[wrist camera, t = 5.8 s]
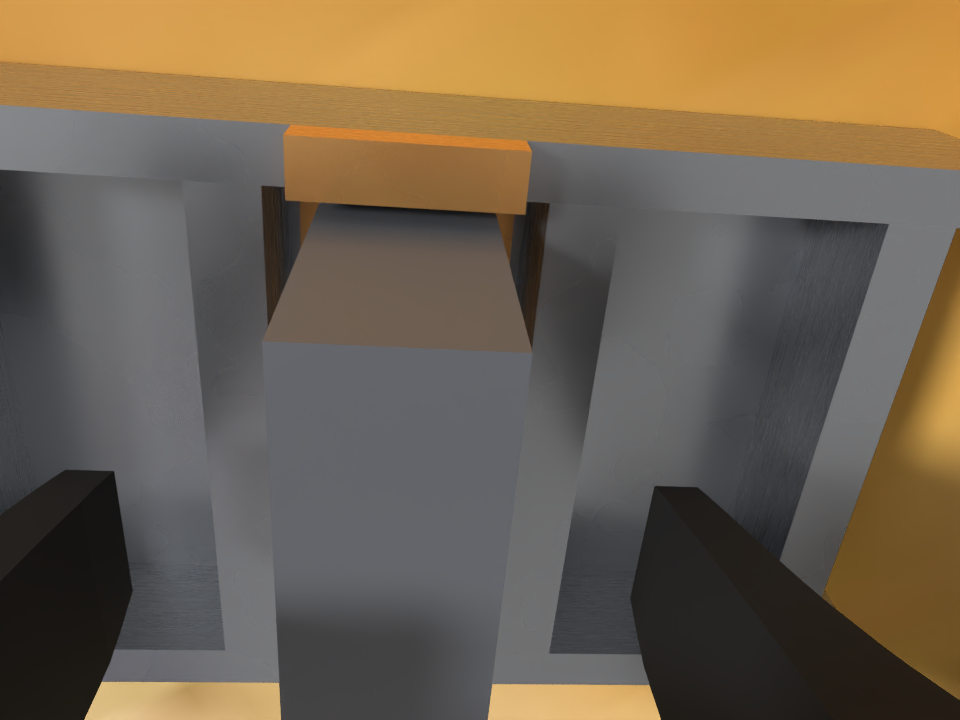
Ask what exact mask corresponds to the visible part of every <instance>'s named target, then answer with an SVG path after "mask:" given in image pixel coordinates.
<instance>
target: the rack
mask: <svg viewBox="0 0 960 720" xmlns="http://www.w3.org/2000/svg"><path fill="white" fill-rule="evenodd" d="M319 203H336V204H353V205H370V206H386V207H403V208H420V209H437V210H453V211H470V212H487V213H496V216H497V219H498V223H499V227H500V231H501V235H502V239H503V242H504V246H505V250H506V254H507V258H508V261H509V265H510V269H511V273H512V277H513V280H514V284H515V288H516V292H517V296H518V300H519V303H520V307H521V311H522V315H523V319H524V322H525V326H526V330H527V334H528V338H529V342H530V345H531V349H532V353H533V354H532V362H531V370H530V378H529V386H528V395H527V403H526V411H525V419H524V427H523V435H522V443H521V452H520V460H519V468H518V476H517V484H516V492H515V500H514V509H513V517H512V525H511V533H510V541H509V549H508V557H507V566H506V574H505V582H504V590H503V598H502V606H501V614H500V623H499V631H498V639H497V647H496V655H495V663H494V671H493V680H492V684H588V685H650V684H649V681H648V678H647V675H646V672H645V669H644V665H643V661H642V656H641V651H640V647H639V642H638V637H637V632H636V627H635V622H634V616H633V611H632V606H631V600H630V596H631V591H632V587H633V582H634V578H635V573H636V568H637V564H638V559H639V555H640V550H641V545H642V541H643V536H644V532H645V527H646V522H647V518H648V513H649V509H650V504H651V500H652V495H653V490H654V486H676V487H698V488H699V489H700V490H702V491H703V492H704V493H705V494H706V495H708V496H709V497H710V498H711V499H712V500H713V501H714V502H715V503H717V504H718V505H719V506H720V507H721V508H722V509H723V510H724V511H725V512H727V513H728V514H729V515H730V516H731V517H732V518H733V519H734V520H735V521H736V522H738V523H739V524H740V525H741V526H742V527H743V528H744V529H745V530H746V531H747V532H748V533H750V534H751V535H752V536H753V537H754V538H755V539H756V540H757V541H758V542H759V543H761V544H762V545H763V546H764V547H765V548H766V549H767V550H768V551H769V552H770V553H772V554H773V555H774V556H775V557H776V558H777V559H778V560H779V561H780V562H782V563H783V564H784V565H785V566H786V567H787V568H788V569H790V570H791V571H792V572H793V573H794V574H795V575H796V576H798V577H799V578H800V579H801V580H802V581H803V582H804V583H806V584H807V585H808V586H809V587H810V588H811V589H813V590H814V591H815V592H816V593H817V594H818V595H820V596H821V597H822V598H823V599H824V600H826V601H827V602H828V603H829V604H830V605H832V606H833V607H834V608H835V606H834V605H833V603H832V602H831V600H830V598H829V597H828V595H827V594H826V592H825V590H824V589H825V586H826V584H827V581H828V578H829V576H830V573H831V570H832V567H833V565H834V562H835V559H836V556H837V554H838V551H839V548H840V545H841V543H842V540H843V537H844V535H845V532H846V529H847V526H848V524H849V521H850V518H851V515H852V513H853V510H854V507H855V504H856V502H857V499H858V496H859V493H860V491H861V488H862V485H863V483H864V480H865V477H866V474H867V472H868V469H869V466H870V463H871V461H872V458H873V455H874V452H875V450H876V447H877V444H878V442H879V439H880V436H881V433H882V431H883V428H884V425H885V422H886V420H887V417H888V414H889V411H890V409H891V406H892V403H893V400H894V398H895V395H896V392H897V390H898V387H899V384H900V381H901V379H902V376H903V373H904V370H905V368H906V365H907V362H908V359H909V357H910V354H911V351H912V349H913V346H914V343H915V340H916V338H917V335H918V332H919V329H920V327H921V324H922V321H923V318H924V316H925V313H926V310H927V308H928V305H929V302H930V299H931V297H932V294H933V291H934V288H935V286H936V283H937V280H938V277H939V275H940V272H941V269H942V266H943V264H944V261H945V258H946V256H947V253H948V250H949V247H950V245H951V242H952V239H953V236H954V234H955V231H956V228H960V139H958V138H955V137H953V136H950V135H947V134H944V133H942V132H939V131H936V130H929V129H915V128H901V127H887V126H874V125H860V124H846V123H832V122H819V121H805V120H791V119H777V118H764V117H750V116H736V115H723V114H709V113H695V112H681V111H668V110H654V109H640V108H626V107H613V106H599V105H585V104H571V103H558V102H544V101H530V100H516V99H503V98H489V97H475V96H461V95H448V94H434V93H420V92H406V91H393V90H379V89H365V88H351V87H338V86H324V85H310V84H296V83H283V82H269V81H255V80H241V79H228V78H214V77H200V76H186V75H173V74H159V73H145V72H131V71H118V70H104V69H90V68H76V67H63V66H49V65H35V64H21V63H8V62H0V515H1V514H2V513H3V512H5V511H6V510H8V509H9V508H10V507H12V506H13V505H15V504H16V503H17V502H19V501H20V500H22V499H23V498H24V497H26V496H27V495H29V494H30V493H31V492H33V491H34V490H36V489H37V488H39V487H40V486H41V485H43V484H44V483H46V482H47V481H49V480H50V479H52V478H53V477H55V476H56V475H58V474H59V473H61V472H63V471H64V470H97V471H114V473H115V480H116V486H117V492H118V499H119V505H120V512H121V518H122V524H123V531H124V537H125V544H126V550H127V557H128V563H129V569H130V576H131V582H132V589H133V592H132V595H131V599H130V602H129V605H128V609H127V612H126V615H125V618H124V622H123V625H122V628H121V631H120V634H119V637H118V640H117V643H116V646H115V649H114V653H113V656H112V659H111V662H110V664H109V666H108V669H107V671H106V673H105V675H104V677H103V680H102V682H262V683H279V665H278V646H277V626H276V606H275V586H274V567H273V547H272V527H271V507H270V487H269V468H268V448H267V428H266V408H265V388H264V369H263V349H262V340H263V338H264V336H265V333H266V331H267V328H268V326H269V324H270V321H271V319H272V316H273V314H274V311H275V309H276V307H277V304H278V302H279V299H280V297H281V294H282V292H283V290H284V287H285V285H286V282H287V280H288V278H289V275H290V273H291V270H292V268H293V265H294V263H295V261H296V258H297V256H298V253H299V251H300V248H301V246H302V244H303V241H304V239H305V236H306V234H307V232H308V229H309V227H310V224H311V222H312V219H313V217H314V215H315V212H316V210H317V207H318V205H319ZM835 609H836V608H835Z"/></svg>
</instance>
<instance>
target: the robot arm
mask: <svg viewBox="0 0 960 720" xmlns="http://www.w3.org/2000/svg"><path fill="white" fill-rule="evenodd" d="M132 592H133V589H132V582H131V576H130V569H129V563H128V557H127V550H126V544H125V537H124V531H123V524H122V518H121V512H120V505H119V499H118V492H117V486H116V480H115V473H114V471H97V470H64V471H63V472H61V473H59V474H58V475H56V476H55V477H53V478H52V479H50V480H49V481H47V482H46V483H44V484H43V485H41V486H40V487H39V488H37V489H36V490H34V491H33V492H31V493H30V494H29V495H27V496H26V497H24V498H23V499H22V500H20V501H19V502H17V503H16V504H15V505H13V506H12V507H10V508H9V509H8V510H6V511H5V512H3V513H2V514H1V515H0V720H84V719H85V717H86V714H87V712H88V710H89V708H90V706H91V704H92V701H93V699H94V697H95V695H96V693H97V691H98V688H99V686H100V684H101V682H102V680H103V677H104V675H105V673H106V671H107V669H108V666H109V664H110V662H111V659H112V656H113V653H114V649H115V646H116V643H117V640H118V637H119V634H120V631H121V628H122V625H123V622H124V618H125V615H126V612H127V609H128V605H129V602H130V599H131V595H132ZM630 600H631V606H632V611H633V616H634V622H635V627H636V632H637V637H638V642H639V647H640V651H641V656H642V661H643V665H644V669H645V672H646V675H647V678H648V681H649V684H650V687H651V690H652V693H653V696H654V699H655V702H656V705H657V708H658V711H659V714H660V717H661V720H960V700H958V699H957V698H955V697H954V696H952V695H951V694H949V693H948V692H947V691H945V690H944V689H942V688H941V687H939V686H938V685H936V684H935V683H934V682H932V681H931V680H929V679H928V678H926V677H925V676H923V675H922V674H921V673H919V672H918V671H916V670H915V669H913V668H912V667H910V666H909V665H908V664H906V663H905V662H904V661H902V660H901V659H899V658H898V657H897V656H895V655H894V654H893V653H891V652H890V651H889V650H887V649H886V648H885V647H883V646H882V645H881V644H879V643H878V642H877V641H876V640H874V639H873V638H872V637H870V636H869V635H868V634H867V633H865V632H864V631H863V630H862V629H860V628H859V627H858V626H857V625H855V624H854V623H853V622H852V621H850V620H849V619H848V618H846V617H845V616H844V615H843V614H841V613H840V612H839V611H838V610H836V609H835V608H834V607H833V606H832V605H830V604H829V603H828V602H827V601H826V600H824V599H823V598H822V597H821V596H820V595H818V594H817V593H816V592H815V591H814V590H813V589H811V588H810V587H809V586H808V585H807V584H806V583H804V582H803V581H802V580H801V579H800V578H799V577H798V576H796V575H795V574H794V573H793V572H792V571H791V570H790V569H788V568H787V567H786V566H785V565H784V564H783V563H782V562H780V561H779V560H778V559H777V558H776V557H775V556H774V555H773V554H772V553H770V552H769V551H768V550H767V549H766V548H765V547H764V546H763V545H762V544H761V543H759V542H758V541H757V540H756V539H755V538H754V537H753V536H752V535H751V534H750V533H748V532H747V531H746V530H745V529H744V528H743V527H742V526H741V525H740V524H739V523H738V522H736V521H735V520H734V519H733V518H732V517H731V516H730V515H729V514H728V513H727V512H725V511H724V510H723V509H722V508H721V507H720V506H719V505H718V504H717V503H715V502H714V501H713V500H712V499H711V498H710V497H709V496H708V495H706V494H705V493H704V492H703V491H702V490H700V489H699V488H698V487H676V486H654V490H653V495H652V500H651V504H650V509H649V513H648V518H647V522H646V527H645V532H644V536H643V541H642V545H641V550H640V555H639V559H638V564H637V568H636V573H635V578H634V582H633V587H632V591H631V596H630Z"/></svg>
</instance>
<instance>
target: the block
mask: <svg viewBox="0 0 960 720" xmlns="http://www.w3.org/2000/svg"><path fill="white" fill-rule="evenodd" d="M262 349H263V369H264V388H265V408H266V428H267V448H268V468H269V487H270V507H271V527H272V547H273V567H274V586H275V606H276V626H277V646H278V665H279V685H280V705H281V720H488V712H489V704H490V696H491V688H492V680H493V671H494V663H495V655H496V647H497V639H498V631H499V623H500V614H501V606H502V598H503V590H504V582H505V574H506V566H507V557H508V549H509V541H510V533H511V525H512V517H513V509H514V500H515V492H516V484H517V476H518V468H519V460H520V452H521V443H522V435H523V427H524V419H525V411H526V403H527V395H528V386H529V378H530V370H531V362H532V354H533V353H532V349H531V345H530V342H529V338H528V334H527V330H526V326H525V322H524V319H523V315H522V311H521V307H520V303H519V300H518V296H517V292H516V288H515V284H514V280H513V277H512V273H511V269H510V265H509V261H508V258H507V254H506V250H505V246H504V242H503V239H502V235H501V231H500V227H499V223H498V219H497V216H496V213H487V212H470V211H453V210H437V209H420V208H403V207H386V206H370V205H353V204H336V203H319V205H318V207H317V210H316V212H315V215H314V217H313V219H312V222H311V224H310V227H309V229H308V232H307V234H306V236H305V239H304V241H303V244H302V246H301V248H300V251H299V253H298V256H297V258H296V261H295V263H294V265H293V268H292V270H291V273H290V275H289V278H288V280H287V282H286V285H285V287H284V290H283V292H282V294H281V297H280V299H279V302H278V304H277V307H276V309H275V311H274V314H273V316H272V319H271V321H270V324H269V326H268V328H267V331H266V333H265V336H264V338H263V340H262Z"/></svg>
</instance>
